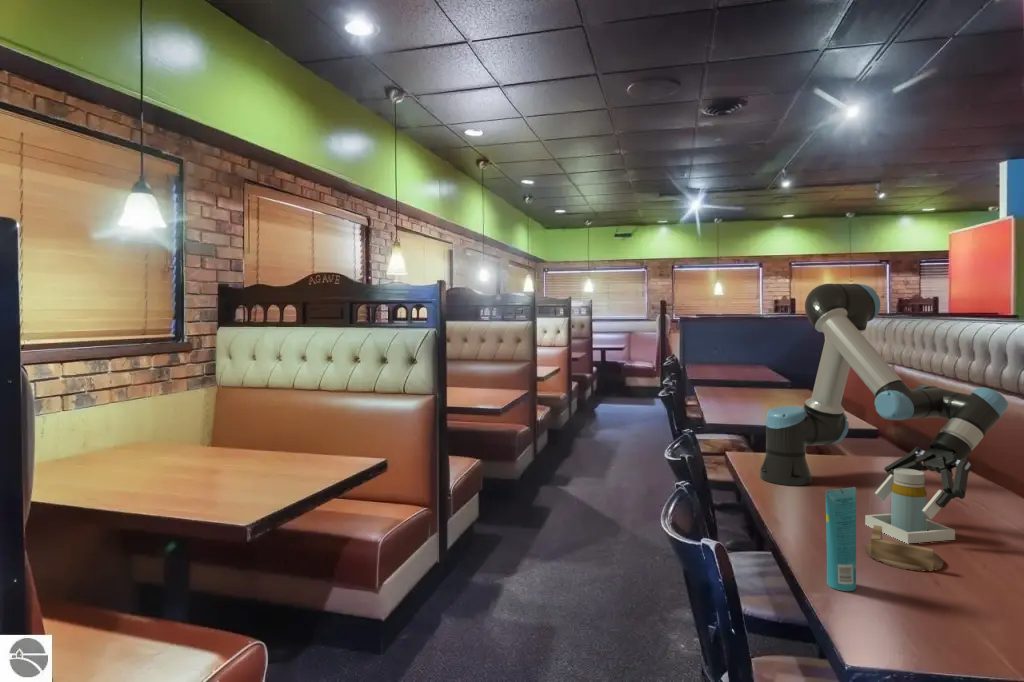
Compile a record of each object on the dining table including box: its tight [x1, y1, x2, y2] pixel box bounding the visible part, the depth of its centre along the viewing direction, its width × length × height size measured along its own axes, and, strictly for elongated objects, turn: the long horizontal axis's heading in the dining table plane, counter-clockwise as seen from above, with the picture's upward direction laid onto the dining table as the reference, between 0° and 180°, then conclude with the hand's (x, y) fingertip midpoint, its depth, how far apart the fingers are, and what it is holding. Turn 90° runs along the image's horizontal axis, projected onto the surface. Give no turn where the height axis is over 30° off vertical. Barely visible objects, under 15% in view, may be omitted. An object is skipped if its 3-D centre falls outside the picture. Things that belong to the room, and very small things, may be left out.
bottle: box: [890, 468, 928, 532], centre depth 136 cm, size 7×7×15 cm
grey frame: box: [864, 513, 956, 545], centre depth 136 cm, size 13×13×2 cm
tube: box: [825, 486, 857, 592], centre depth 109 cm, size 7×5×19 cm, turn 112°
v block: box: [864, 525, 944, 572], centre depth 122 cm, size 14×15×4 cm
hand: (901, 505), depth 136 cm, fingers open, 13 cm apart
